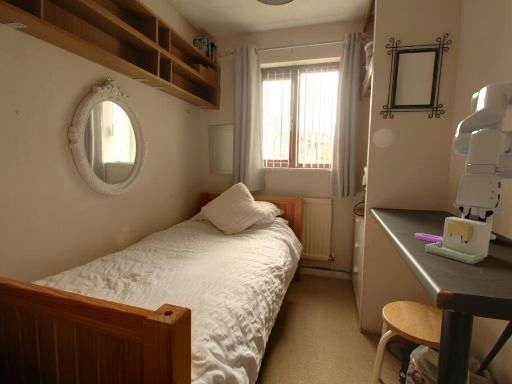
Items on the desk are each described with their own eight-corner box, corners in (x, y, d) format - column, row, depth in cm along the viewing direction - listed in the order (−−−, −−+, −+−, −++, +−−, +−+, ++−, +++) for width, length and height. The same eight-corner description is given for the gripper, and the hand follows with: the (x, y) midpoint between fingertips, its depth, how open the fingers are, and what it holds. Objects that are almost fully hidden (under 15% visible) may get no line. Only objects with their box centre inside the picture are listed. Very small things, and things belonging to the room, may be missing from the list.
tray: (437, 247, 86) (438, 241, 86) (484, 260, 76) (485, 253, 76) (424, 251, 82) (425, 244, 82) (471, 264, 72) (472, 257, 72)
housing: (449, 246, 88) (452, 216, 87) (487, 256, 80) (491, 223, 79) (441, 248, 85) (445, 217, 84) (480, 258, 77) (484, 224, 76)
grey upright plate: (469, 237, 86) (472, 214, 86) (478, 239, 84) (481, 216, 84) (450, 241, 80) (453, 217, 79) (460, 243, 78) (463, 218, 77)
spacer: (452, 235, 83) (453, 222, 82) (471, 239, 78) (473, 225, 78) (446, 236, 81) (448, 222, 80) (466, 240, 77) (468, 226, 76)
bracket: (459, 244, 93) (461, 224, 92) (456, 247, 89) (459, 226, 88) (416, 235, 102) (418, 217, 101) (412, 238, 98) (414, 219, 97)
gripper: (520, 172, 78) (511, 234, 80) (456, 170, 91) (450, 223, 93) (511, 171, 74) (502, 236, 76) (446, 169, 88) (439, 224, 89)
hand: (473, 228), depth 85 cm, fingers closed on grey upright plate, 2 cm apart
